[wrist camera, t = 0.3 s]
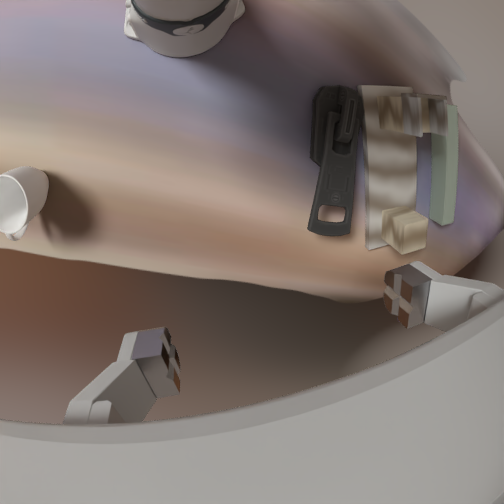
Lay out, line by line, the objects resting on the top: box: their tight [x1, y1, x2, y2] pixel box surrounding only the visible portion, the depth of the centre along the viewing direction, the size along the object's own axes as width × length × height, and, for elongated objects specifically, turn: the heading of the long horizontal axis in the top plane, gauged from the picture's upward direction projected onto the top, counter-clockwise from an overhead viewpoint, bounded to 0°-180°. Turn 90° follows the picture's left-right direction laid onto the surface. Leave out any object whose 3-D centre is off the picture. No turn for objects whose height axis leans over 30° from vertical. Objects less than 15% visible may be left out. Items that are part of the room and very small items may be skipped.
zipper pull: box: [307, 85, 365, 236], centre depth 45 cm, size 9×7×25 cm
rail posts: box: [357, 85, 448, 255], centre depth 45 cm, size 32×12×13 cm, turn 9°
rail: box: [429, 105, 458, 226], centre depth 50 cm, size 26×4×5 cm, turn 9°
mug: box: [0, 166, 49, 241], centre depth 35 cm, size 12×9×12 cm
